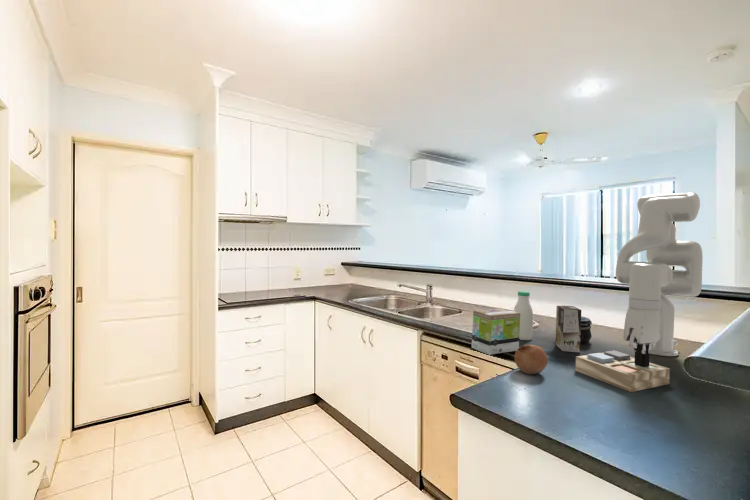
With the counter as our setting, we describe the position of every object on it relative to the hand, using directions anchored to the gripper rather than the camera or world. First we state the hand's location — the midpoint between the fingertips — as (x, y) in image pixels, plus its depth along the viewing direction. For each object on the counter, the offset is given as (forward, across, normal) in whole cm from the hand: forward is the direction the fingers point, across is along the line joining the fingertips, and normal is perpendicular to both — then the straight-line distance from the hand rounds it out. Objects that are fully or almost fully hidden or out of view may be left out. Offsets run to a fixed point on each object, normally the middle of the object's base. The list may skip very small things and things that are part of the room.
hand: (641, 365), depth 106 cm
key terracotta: (+3, +7, 0) cm, 8 cm away
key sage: (+3, 0, 0) cm, 3 cm away
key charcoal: (+2, 0, -8) cm, 8 cm away
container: (+4, -18, -38) cm, 42 cm away
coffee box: (+5, -6, -31) cm, 32 cm away
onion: (+5, +27, -16) cm, 32 cm away
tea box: (+5, +22, -39) cm, 45 cm away
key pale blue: (+2, +7, -8) cm, 11 cm away
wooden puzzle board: (+4, +4, -4) cm, 7 cm away
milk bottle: (+4, 0, -48) cm, 48 cm away
